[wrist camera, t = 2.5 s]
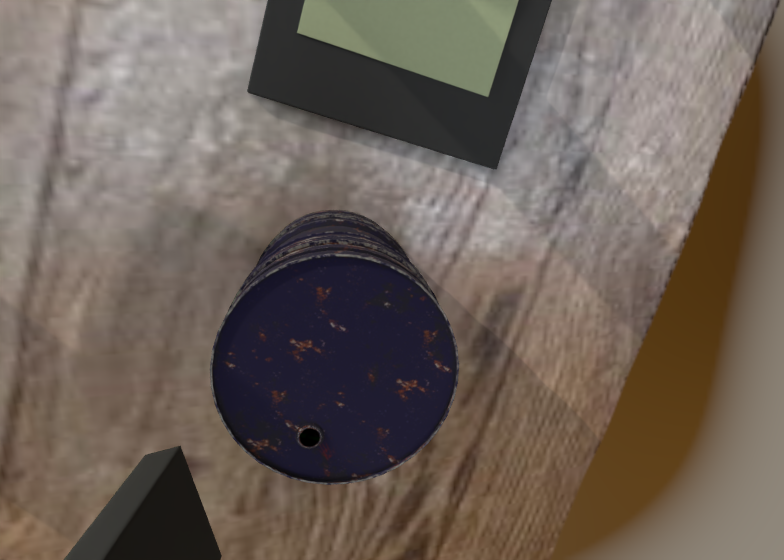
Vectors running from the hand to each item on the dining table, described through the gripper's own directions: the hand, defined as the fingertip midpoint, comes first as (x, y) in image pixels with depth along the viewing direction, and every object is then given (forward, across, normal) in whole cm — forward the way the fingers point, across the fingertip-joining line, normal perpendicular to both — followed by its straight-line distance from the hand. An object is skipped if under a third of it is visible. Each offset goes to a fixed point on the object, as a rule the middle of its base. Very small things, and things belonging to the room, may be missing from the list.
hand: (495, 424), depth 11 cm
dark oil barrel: (+24, -5, -1) cm, 25 cm away
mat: (+24, +5, +16) cm, 29 cm away
